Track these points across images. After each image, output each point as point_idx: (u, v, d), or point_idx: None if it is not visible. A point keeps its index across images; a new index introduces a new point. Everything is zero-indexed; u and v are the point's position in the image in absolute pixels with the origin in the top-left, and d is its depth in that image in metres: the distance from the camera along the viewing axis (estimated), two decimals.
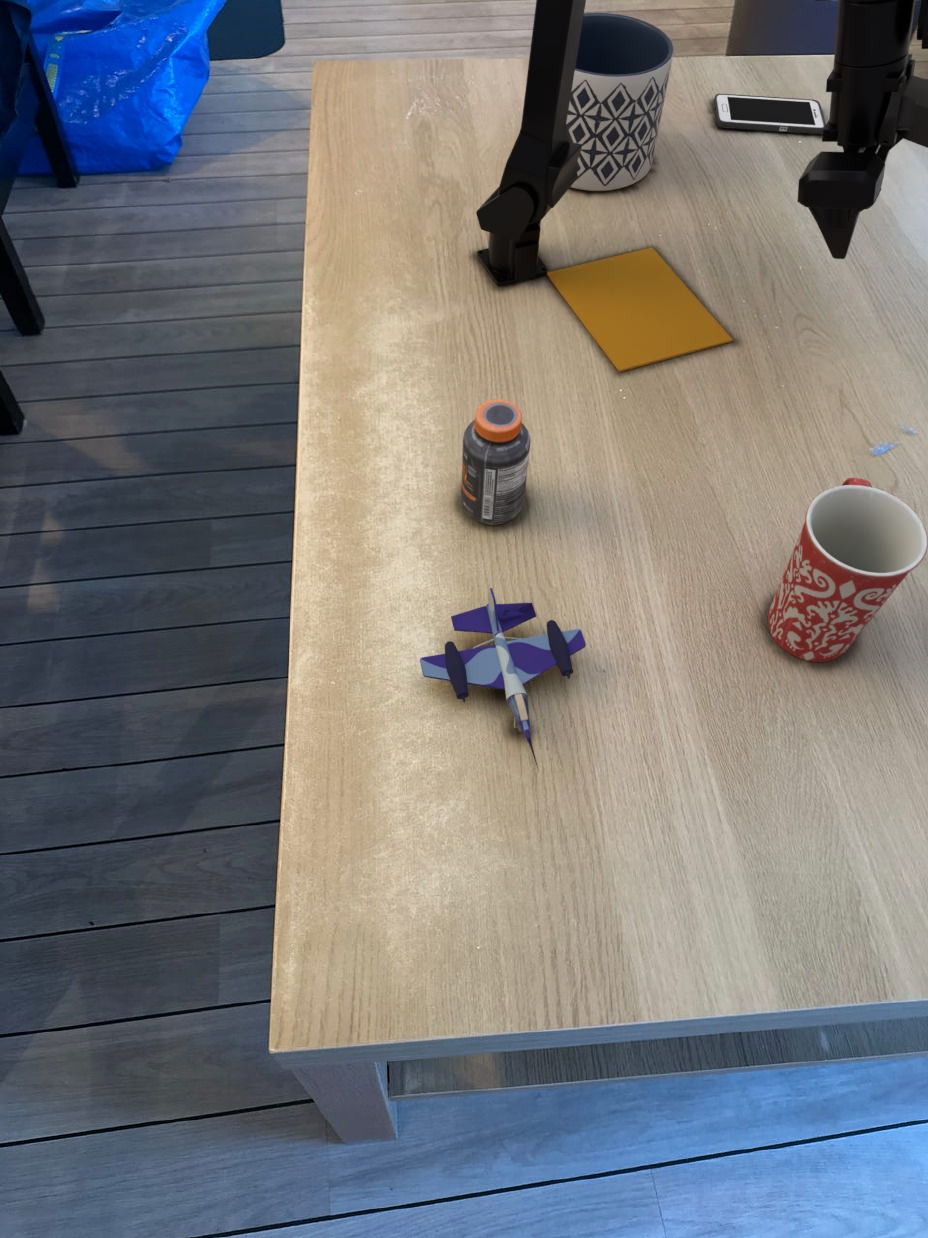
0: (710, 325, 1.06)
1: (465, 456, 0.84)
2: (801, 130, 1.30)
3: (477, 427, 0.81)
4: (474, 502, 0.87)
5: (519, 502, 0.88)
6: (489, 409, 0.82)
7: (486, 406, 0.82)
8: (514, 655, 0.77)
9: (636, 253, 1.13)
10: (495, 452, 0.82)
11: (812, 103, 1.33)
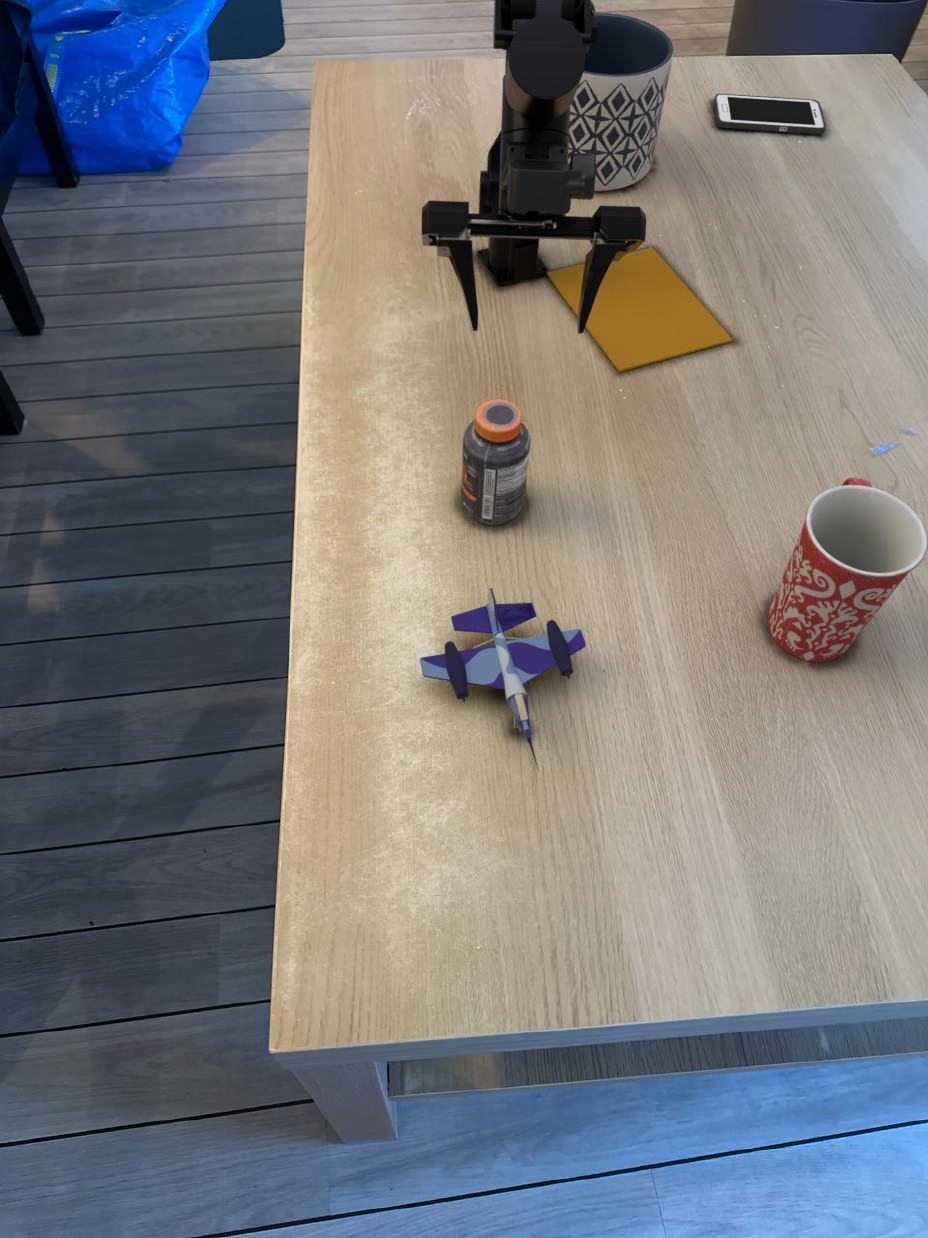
0: (710, 325, 1.06)
1: (465, 456, 0.84)
2: (801, 130, 1.30)
3: (477, 427, 0.81)
4: (474, 502, 0.87)
5: (519, 502, 0.88)
6: (489, 409, 0.82)
7: (486, 406, 0.82)
8: (514, 655, 0.77)
9: (636, 253, 1.13)
10: (495, 452, 0.82)
11: (812, 103, 1.33)
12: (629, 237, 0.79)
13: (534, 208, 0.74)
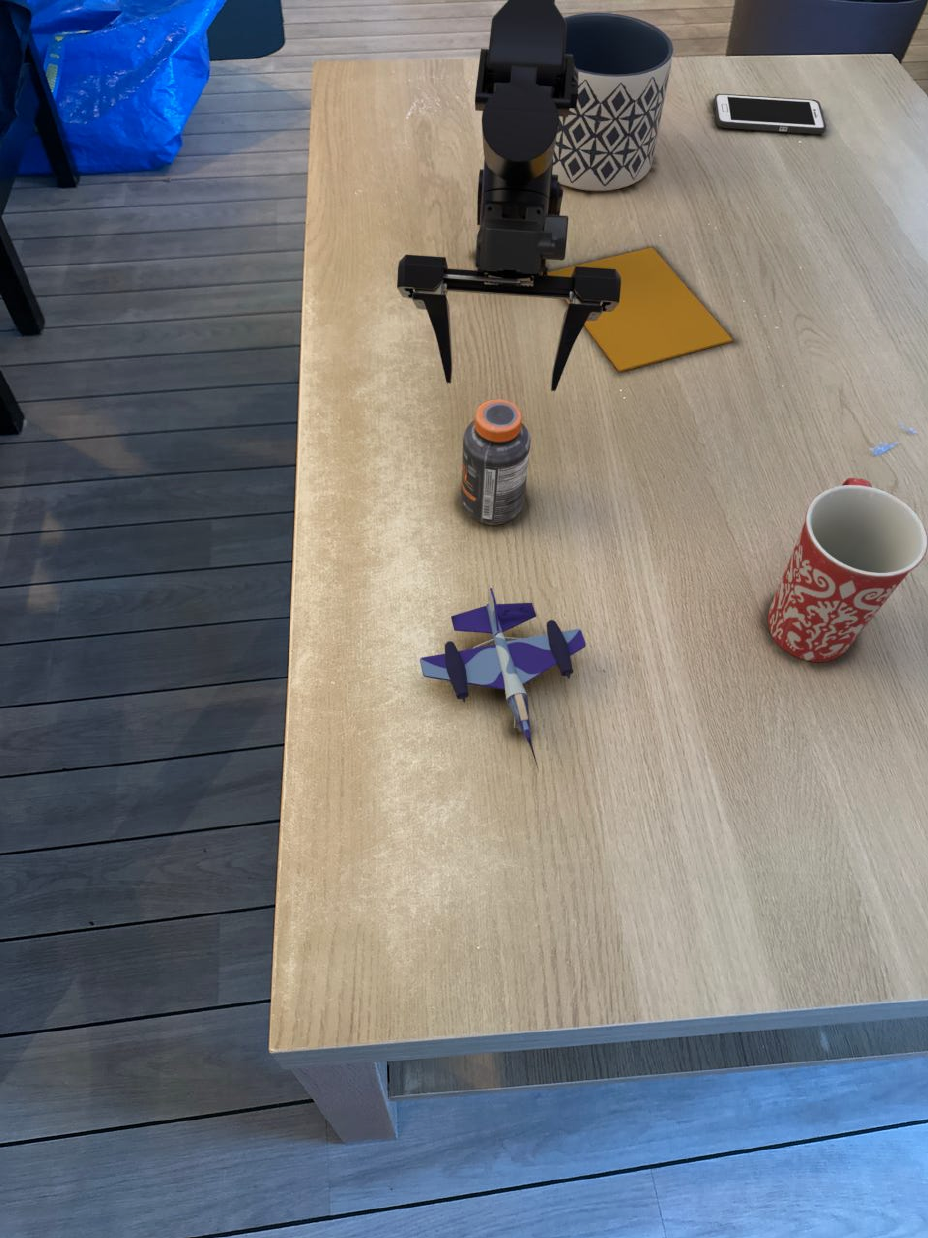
0: (710, 325, 1.06)
1: (465, 456, 0.84)
2: (801, 130, 1.30)
3: (477, 427, 0.81)
4: (474, 502, 0.87)
5: (519, 502, 0.88)
6: (489, 409, 0.82)
7: (486, 406, 0.82)
8: (514, 655, 0.77)
9: (636, 253, 1.13)
10: (496, 452, 0.82)
11: (812, 103, 1.33)
12: (602, 298, 0.79)
13: (504, 267, 0.75)
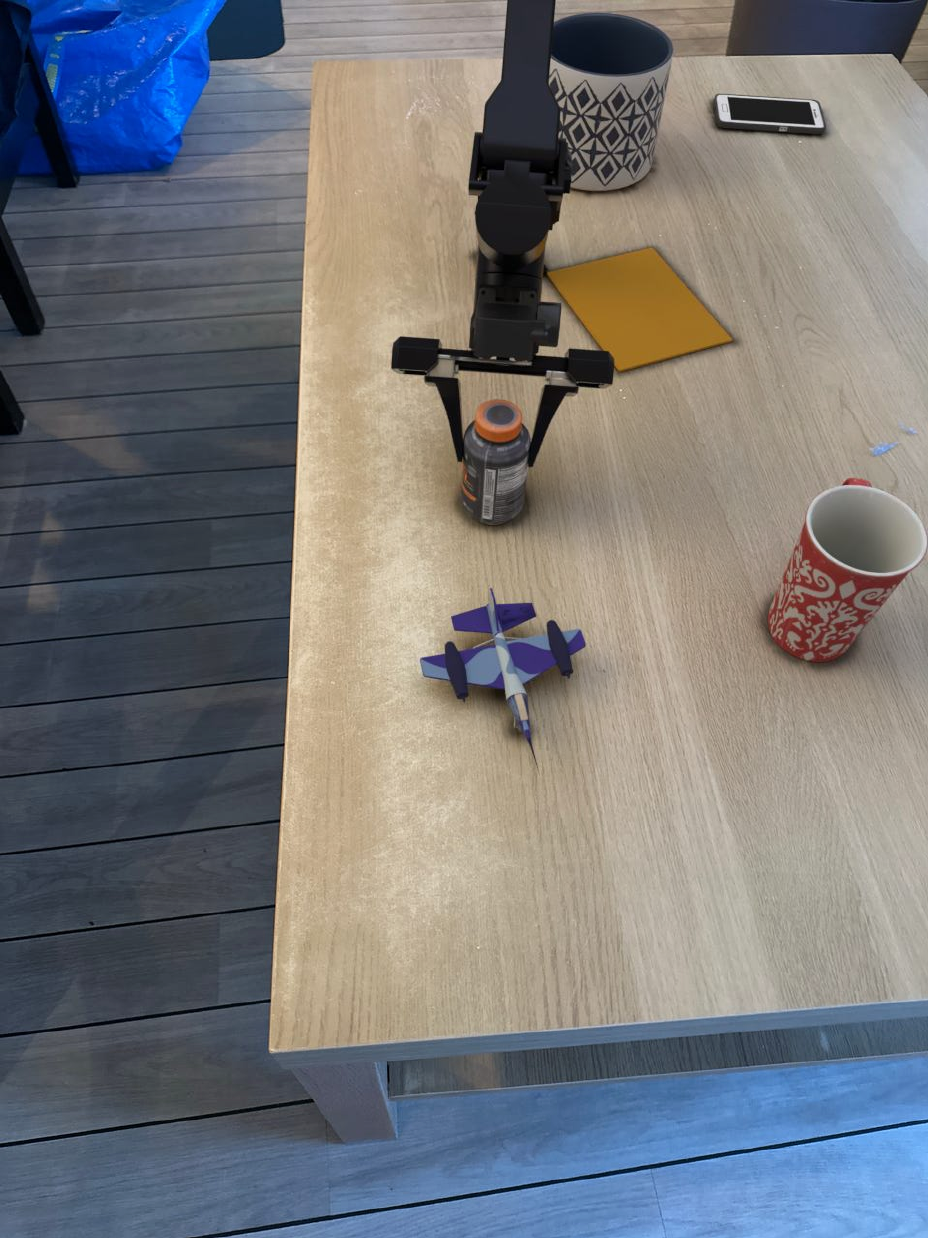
0: (710, 325, 1.06)
1: (465, 456, 0.84)
2: (801, 130, 1.30)
3: (477, 427, 0.81)
4: (474, 502, 0.87)
5: (519, 502, 0.88)
6: (489, 409, 0.81)
7: (486, 406, 0.82)
8: (514, 655, 0.77)
9: (636, 253, 1.13)
10: (496, 452, 0.82)
11: (812, 103, 1.33)
12: (595, 381, 0.80)
13: (498, 354, 0.75)
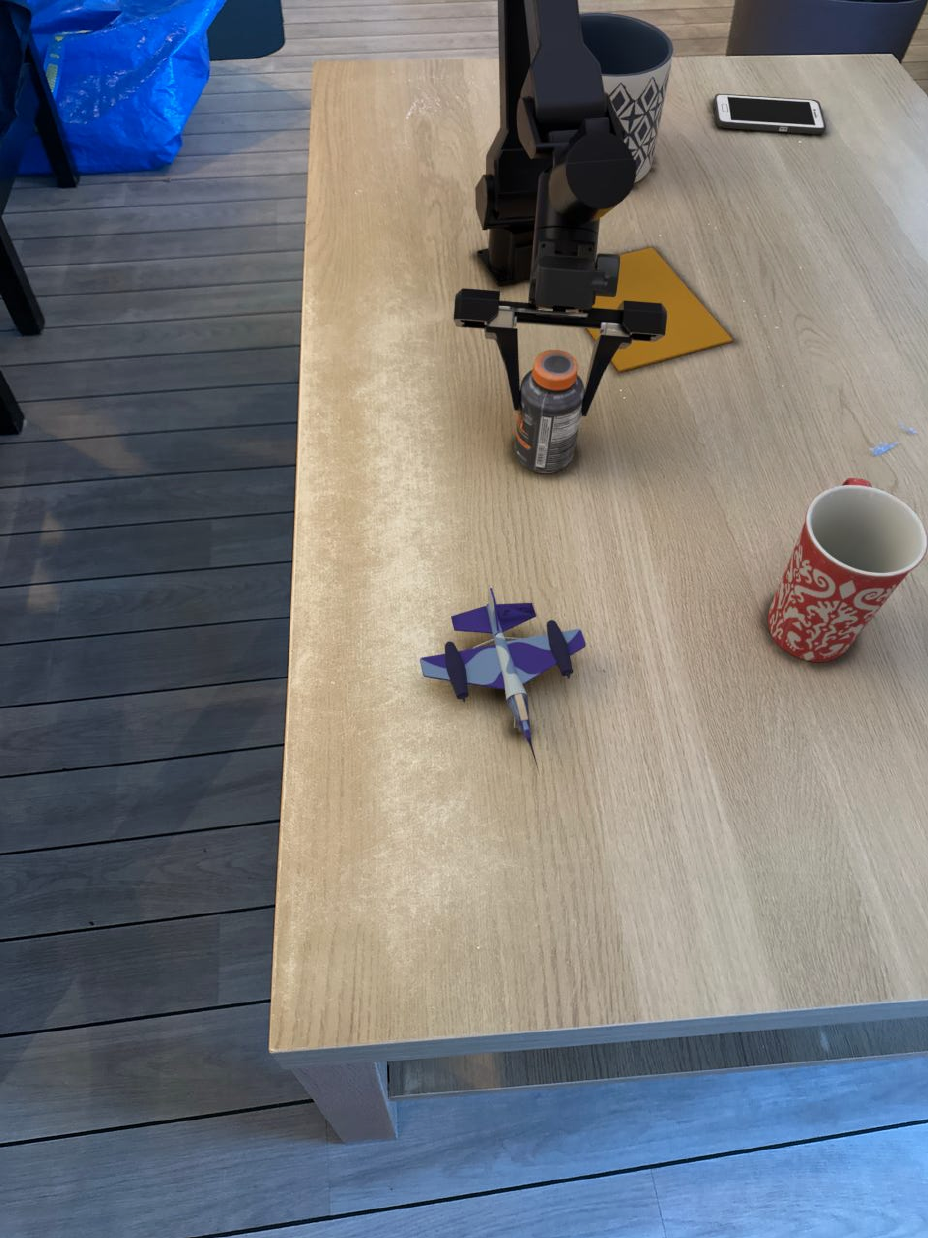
0: (710, 325, 1.06)
1: (522, 405, 0.88)
2: (801, 130, 1.30)
3: (535, 376, 0.85)
4: (528, 450, 0.91)
5: (571, 451, 0.92)
6: (546, 359, 0.85)
7: (543, 356, 0.86)
8: (514, 655, 0.77)
9: (636, 253, 1.13)
10: (552, 400, 0.86)
11: (812, 103, 1.33)
12: (649, 331, 0.84)
13: (559, 303, 0.79)
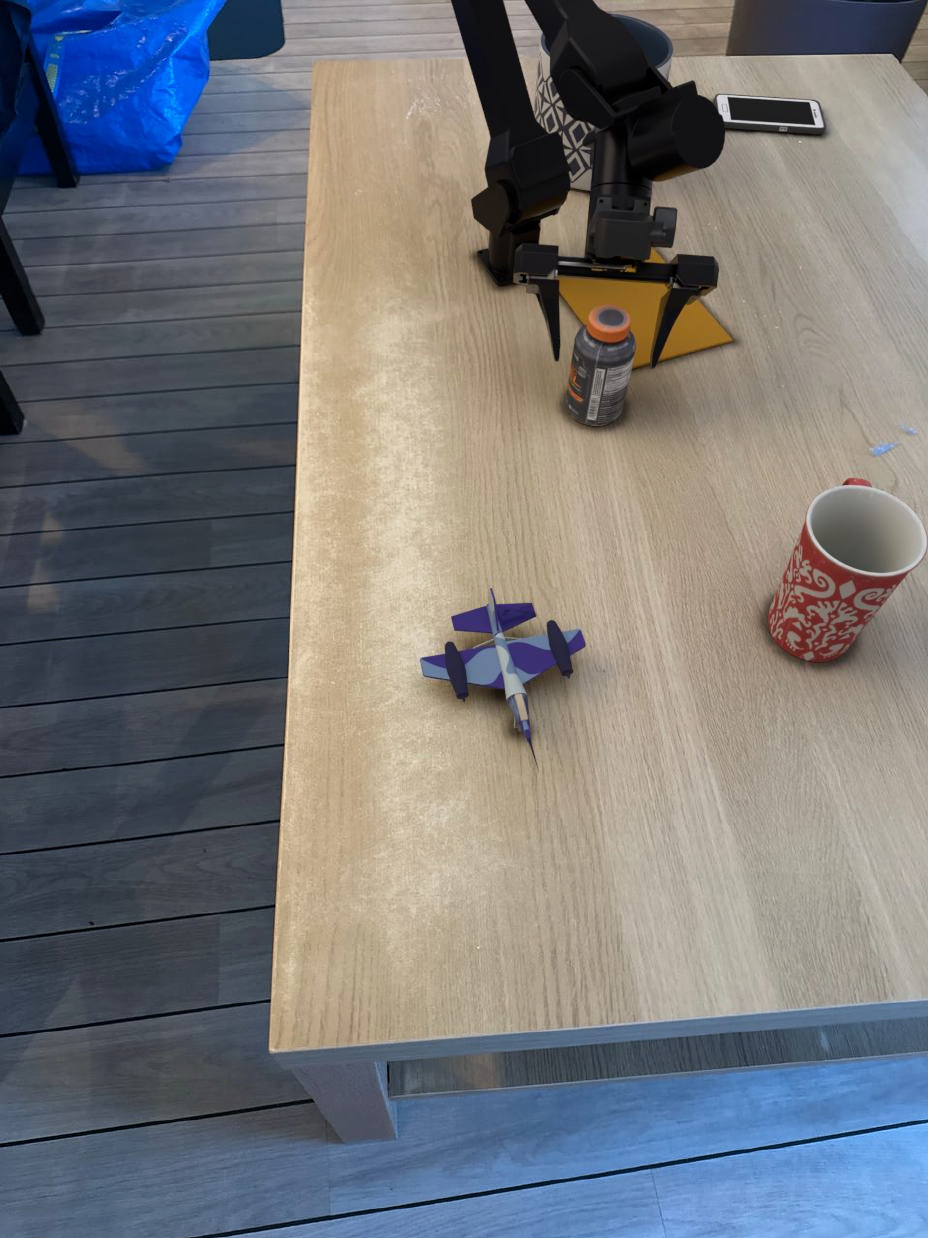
0: (710, 325, 1.06)
1: (576, 358, 0.91)
2: (801, 130, 1.30)
3: (590, 329, 0.89)
4: (580, 403, 0.95)
5: (621, 405, 0.96)
6: (601, 312, 0.89)
7: (597, 310, 0.90)
8: (514, 655, 0.77)
9: None
10: (606, 352, 0.89)
11: (812, 103, 1.33)
12: (702, 283, 0.87)
13: (619, 254, 0.83)
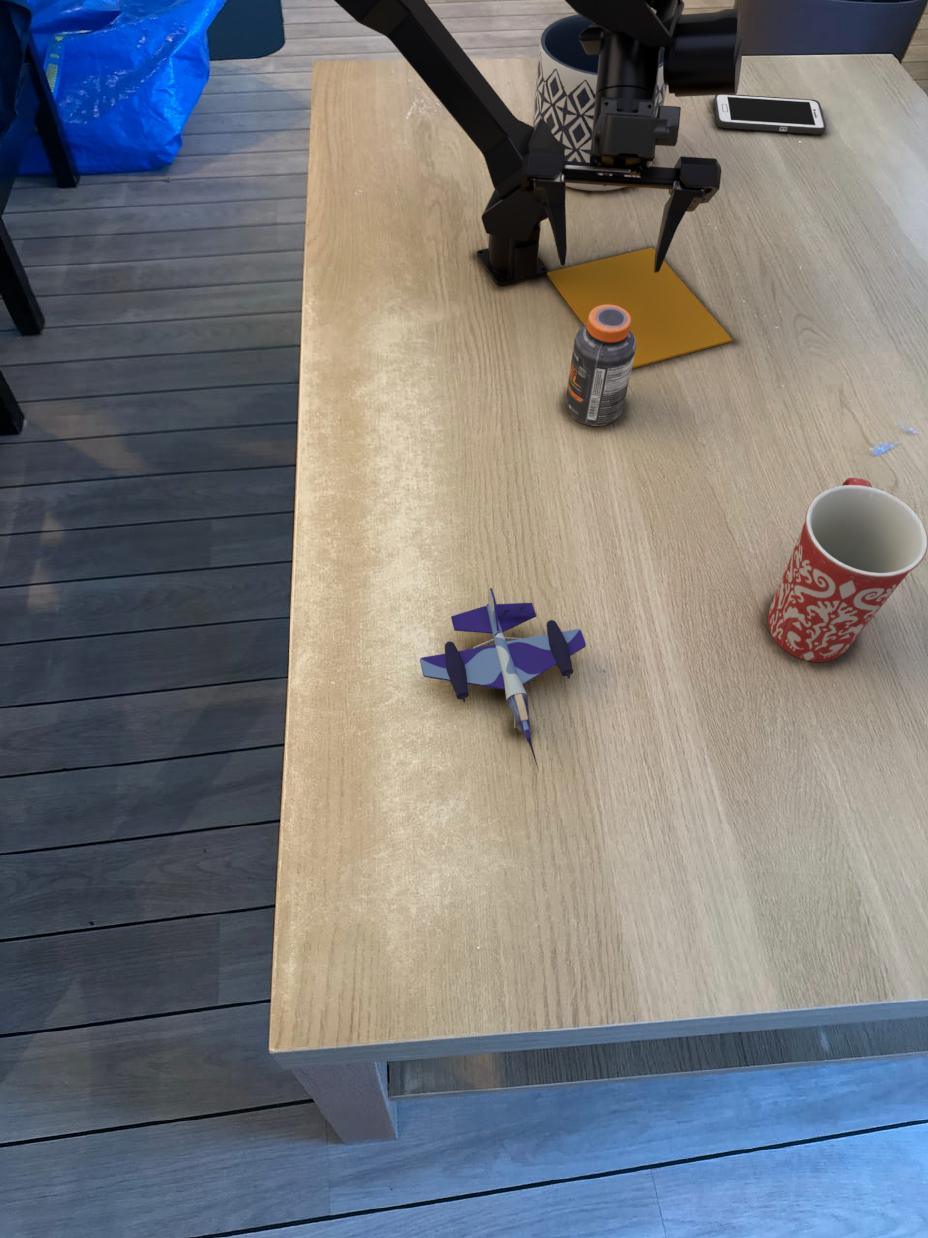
0: (710, 325, 1.06)
1: (576, 358, 0.91)
2: (801, 130, 1.30)
3: (590, 329, 0.89)
4: (580, 403, 0.95)
5: (621, 405, 0.96)
6: (601, 312, 0.89)
7: (597, 310, 0.90)
8: (514, 655, 0.77)
9: (636, 253, 1.13)
10: (606, 352, 0.89)
11: (812, 103, 1.33)
12: (705, 184, 0.89)
13: (624, 151, 0.85)
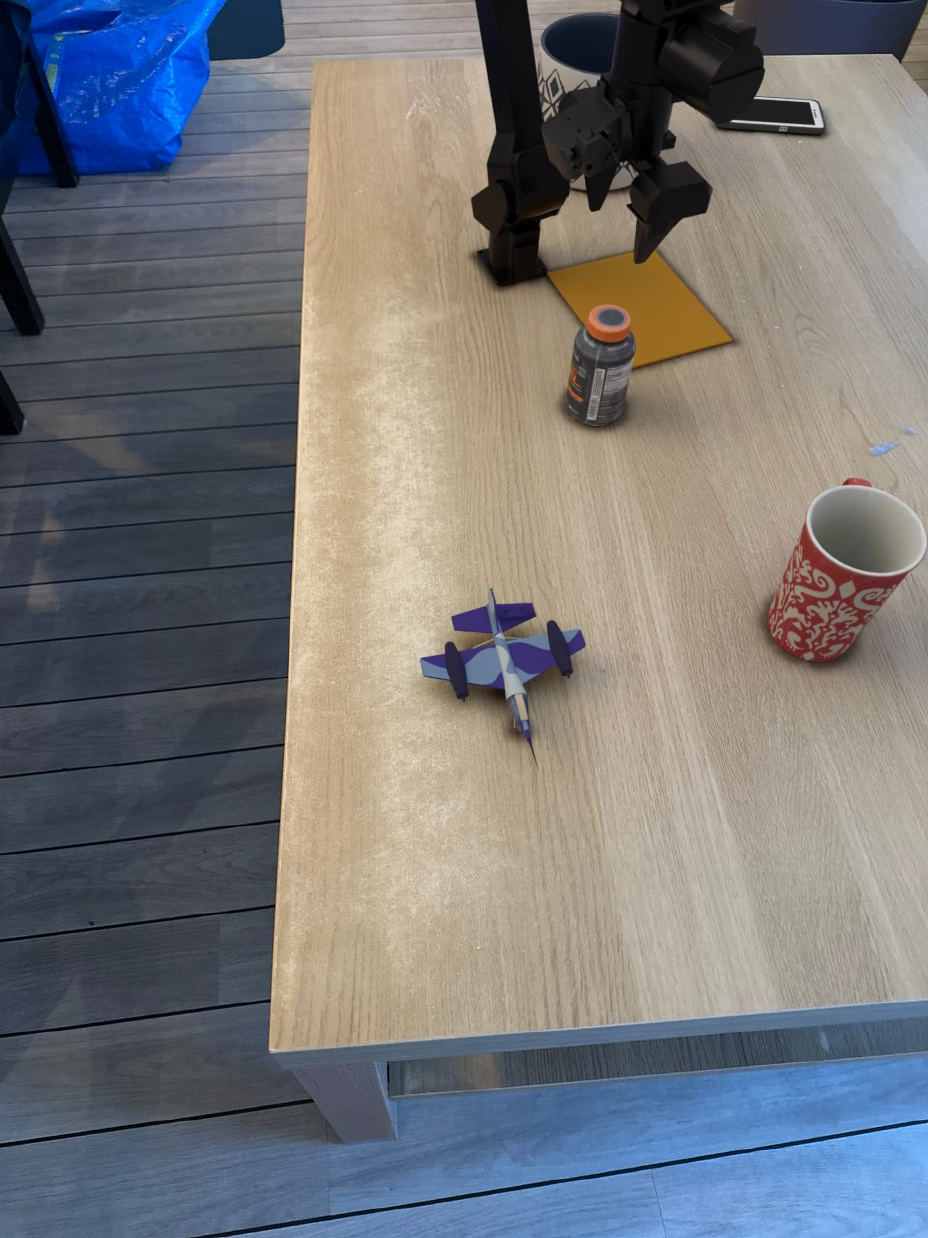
0: (710, 325, 1.06)
1: (576, 358, 0.91)
2: (801, 130, 1.30)
3: (590, 329, 0.89)
4: (580, 403, 0.95)
5: (621, 405, 0.96)
6: (601, 312, 0.89)
7: (597, 310, 0.90)
8: (514, 655, 0.77)
9: None
10: (606, 352, 0.89)
11: (812, 103, 1.33)
12: (641, 215, 0.82)
13: (554, 163, 0.85)
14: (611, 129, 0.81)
